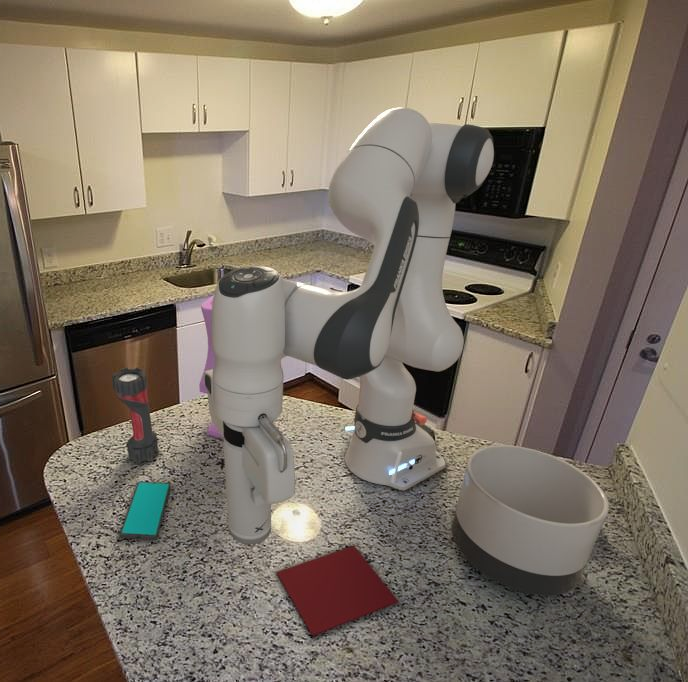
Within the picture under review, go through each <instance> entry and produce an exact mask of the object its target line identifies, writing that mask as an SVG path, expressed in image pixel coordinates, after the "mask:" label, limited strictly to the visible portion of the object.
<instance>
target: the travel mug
mask: <svg viewBox="0 0 688 682" xmlns="http://www.w3.org/2000/svg"><path fill="white" fill-rule="evenodd" d="M223 429H224V433H223V438H222V439H223V454H224V455H223V456H224V458H223V459H224V475H225V492H226V494H225V495H226V512H227V513H226V514H227V515H226V516H227V530H228V533H229V535H230V537H231V538H232V539H234V541H236V542H238V543H240V544H242V545H247V546H248V545H249V546H251V545H258V544H261V543H263V542H264V541H265V540H267V538H269V536H270V535H271V532H272V504H266V503H264V504H261V505H258V506H257V505H255V503H254V502H253V500H252V498H251V497H250V495H251V488H255V486H254V485H253V483H252V482H251V480H250V478H249V477H248V475H247V474H246V472H245V471H244V469H243V467H242V445H245V444H244V441H245V437H244V436H243V434H242V432H238V431H236V430H233V429H231V428H229V427H228V426H227V425H226V424H225V423H224V421H223Z"/></svg>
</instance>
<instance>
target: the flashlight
mask: <svg viewBox="0 0 688 682" xmlns="http://www.w3.org/2000/svg"><path fill="white" fill-rule="evenodd" d="M111 380H112V381H111V382H112V389H113V391H114V392H115V396H116V398H117V399H118V400H119V401H120V402H122V403H123V404H124V405H126V407H128V409H129V417H130V421H131V426H132V427H131V428H132V436H131V437H130V438H129V439H128V441H127V442H126V443H125V445H126V450H127V455H128V460H129V461H133V462H135V464H141V463H142V462H145V461H147V463H149V462H152V461H153V460H154V457H156V456H159V454H160V453H159V442H158V437H157V433H156V432H154V431H153V428H152V427H153V426H152V419H151V411H150V405H149V393H148V381H147V374H146V372H144V371H143V368H141V367H138V366H137V367H135V368H129V367H123V368H121V369H120V371H119V372H113V373H112V376H111Z"/></svg>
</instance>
